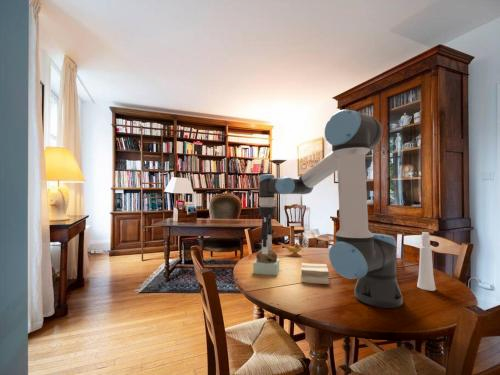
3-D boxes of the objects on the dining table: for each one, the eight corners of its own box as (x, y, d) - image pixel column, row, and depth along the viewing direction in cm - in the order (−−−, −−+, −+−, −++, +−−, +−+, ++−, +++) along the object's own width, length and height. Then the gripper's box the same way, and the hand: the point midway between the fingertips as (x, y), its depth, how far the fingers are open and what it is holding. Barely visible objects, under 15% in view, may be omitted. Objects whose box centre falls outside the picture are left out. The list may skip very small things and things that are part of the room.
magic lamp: (279, 252, 154) (279, 234, 154) (308, 254, 148) (308, 236, 148) (276, 254, 147) (276, 236, 148) (307, 257, 142) (307, 238, 142)
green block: (276, 275, 111) (276, 264, 111) (253, 273, 113) (253, 262, 113) (279, 267, 122) (279, 257, 122) (257, 266, 124) (257, 256, 124)
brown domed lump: (258, 270, 113) (260, 256, 110) (252, 255, 122) (254, 242, 119) (278, 268, 116) (281, 255, 113) (271, 254, 125) (273, 241, 122)
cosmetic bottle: (419, 283, 101) (418, 230, 102) (437, 288, 97) (436, 232, 97) (415, 287, 97) (414, 232, 98) (433, 292, 93) (433, 234, 93)
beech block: (328, 284, 100) (328, 271, 100) (301, 281, 103) (301, 270, 103) (326, 275, 111) (326, 264, 111) (301, 273, 113) (301, 262, 114)
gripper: (271, 207, 105) (271, 257, 104) (277, 205, 129) (277, 245, 129) (254, 207, 107) (254, 256, 106) (263, 205, 131) (263, 245, 130)
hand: (267, 250), depth 117 cm, fingers open, 13 cm apart
